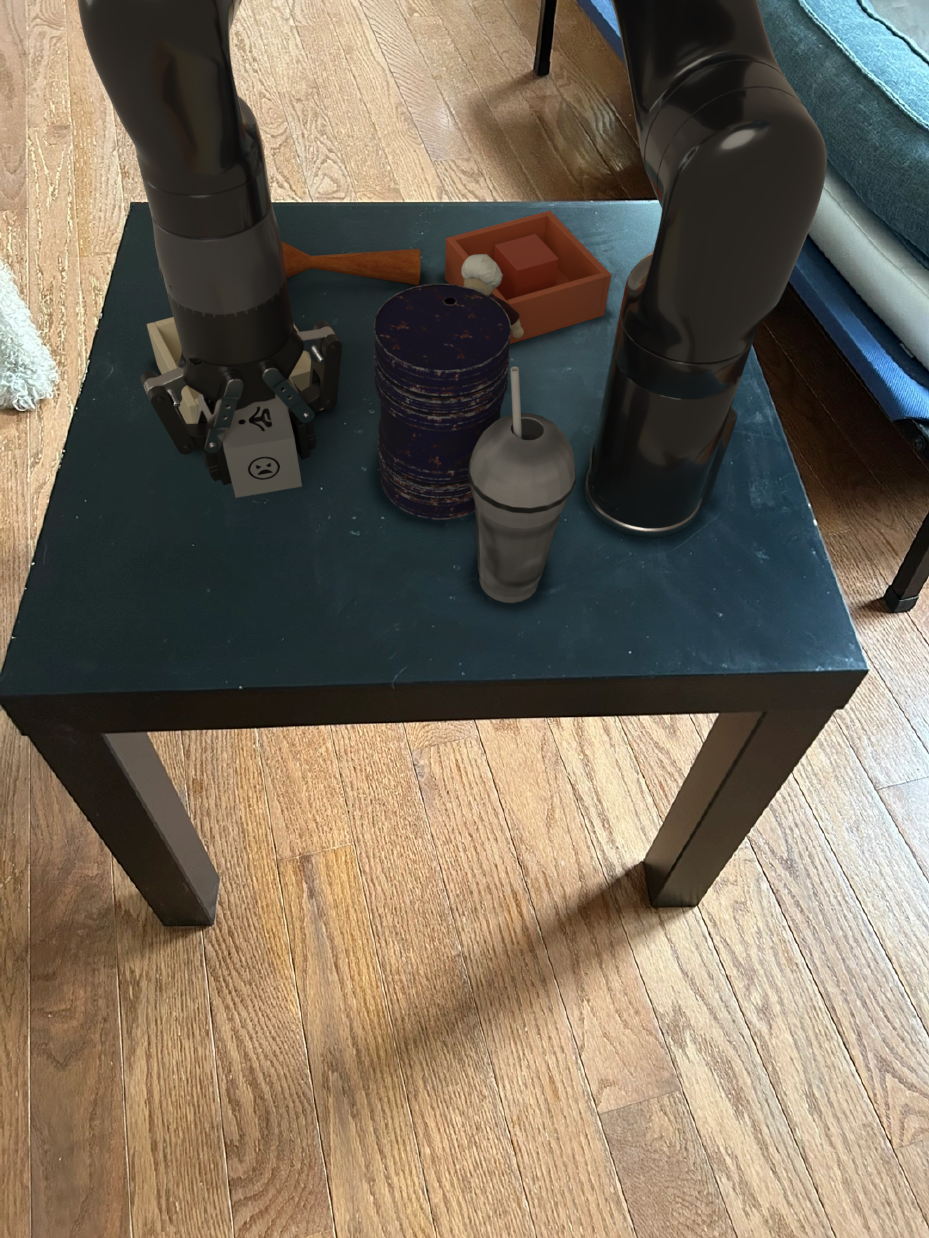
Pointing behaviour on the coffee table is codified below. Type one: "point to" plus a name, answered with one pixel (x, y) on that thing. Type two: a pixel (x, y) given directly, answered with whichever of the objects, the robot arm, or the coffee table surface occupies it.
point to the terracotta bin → (576, 280)
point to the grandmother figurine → (489, 285)
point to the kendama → (358, 264)
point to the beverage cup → (518, 498)
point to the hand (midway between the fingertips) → (263, 463)
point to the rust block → (525, 266)
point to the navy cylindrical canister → (437, 392)
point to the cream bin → (170, 353)
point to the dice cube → (261, 449)
